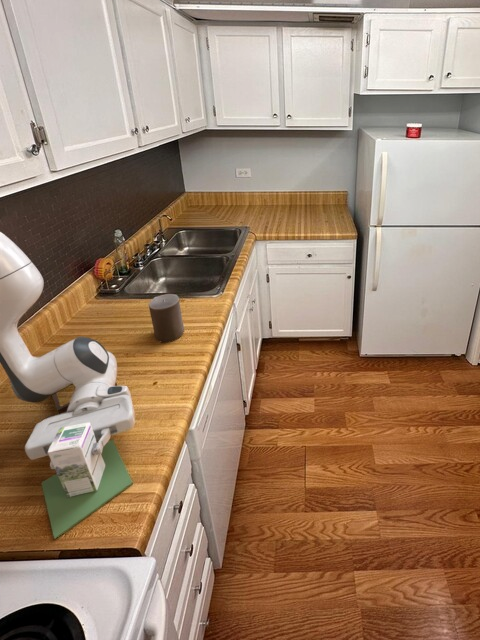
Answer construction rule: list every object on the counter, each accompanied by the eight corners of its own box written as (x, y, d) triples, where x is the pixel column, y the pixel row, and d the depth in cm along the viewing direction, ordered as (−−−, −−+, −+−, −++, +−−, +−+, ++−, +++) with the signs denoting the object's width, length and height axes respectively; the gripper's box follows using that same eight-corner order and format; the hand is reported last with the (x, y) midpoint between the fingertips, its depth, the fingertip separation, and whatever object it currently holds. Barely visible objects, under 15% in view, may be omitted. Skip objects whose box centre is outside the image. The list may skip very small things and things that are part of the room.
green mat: (54, 540, 63) (53, 538, 63) (42, 484, 72) (41, 482, 72) (133, 483, 72) (132, 482, 72) (113, 440, 81) (112, 439, 81)
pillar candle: (169, 345, 113) (162, 308, 108) (149, 338, 117) (141, 301, 111) (190, 329, 121) (184, 293, 116) (170, 322, 125) (163, 287, 119)
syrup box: (106, 464, 75) (90, 419, 70) (97, 492, 70) (79, 445, 65) (78, 471, 74) (60, 425, 69) (66, 500, 69) (46, 452, 63)
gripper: (33, 410, 75) (8, 468, 63) (134, 383, 83) (128, 431, 71) (41, 430, 78) (18, 490, 66) (139, 402, 85) (134, 451, 73)
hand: (76, 459), depth 68 cm, fingers closed on syrup box, 6 cm apart
